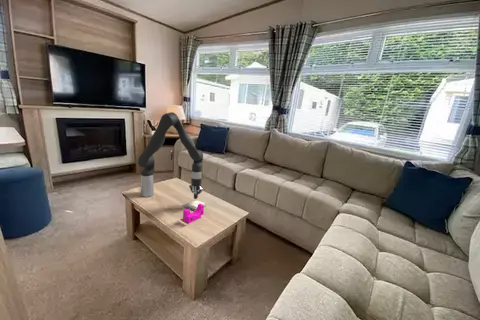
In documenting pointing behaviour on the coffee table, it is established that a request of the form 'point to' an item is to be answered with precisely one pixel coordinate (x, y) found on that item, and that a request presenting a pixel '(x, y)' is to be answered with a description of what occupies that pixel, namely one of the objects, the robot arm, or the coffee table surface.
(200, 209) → the magenta pipe clamp half
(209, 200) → the coffee table surface
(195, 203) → the tile
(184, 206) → the mat
